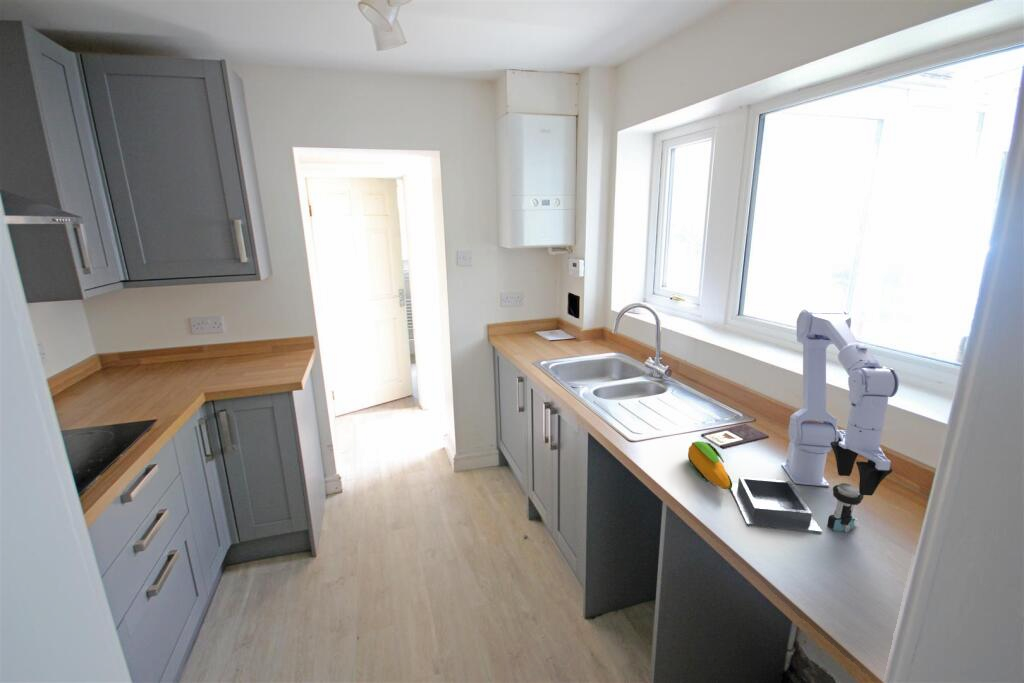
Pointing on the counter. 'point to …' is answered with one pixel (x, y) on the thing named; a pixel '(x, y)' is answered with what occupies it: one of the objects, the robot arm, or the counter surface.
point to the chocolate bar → (734, 436)
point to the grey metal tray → (773, 505)
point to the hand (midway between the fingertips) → (854, 484)
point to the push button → (844, 507)
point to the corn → (709, 464)
